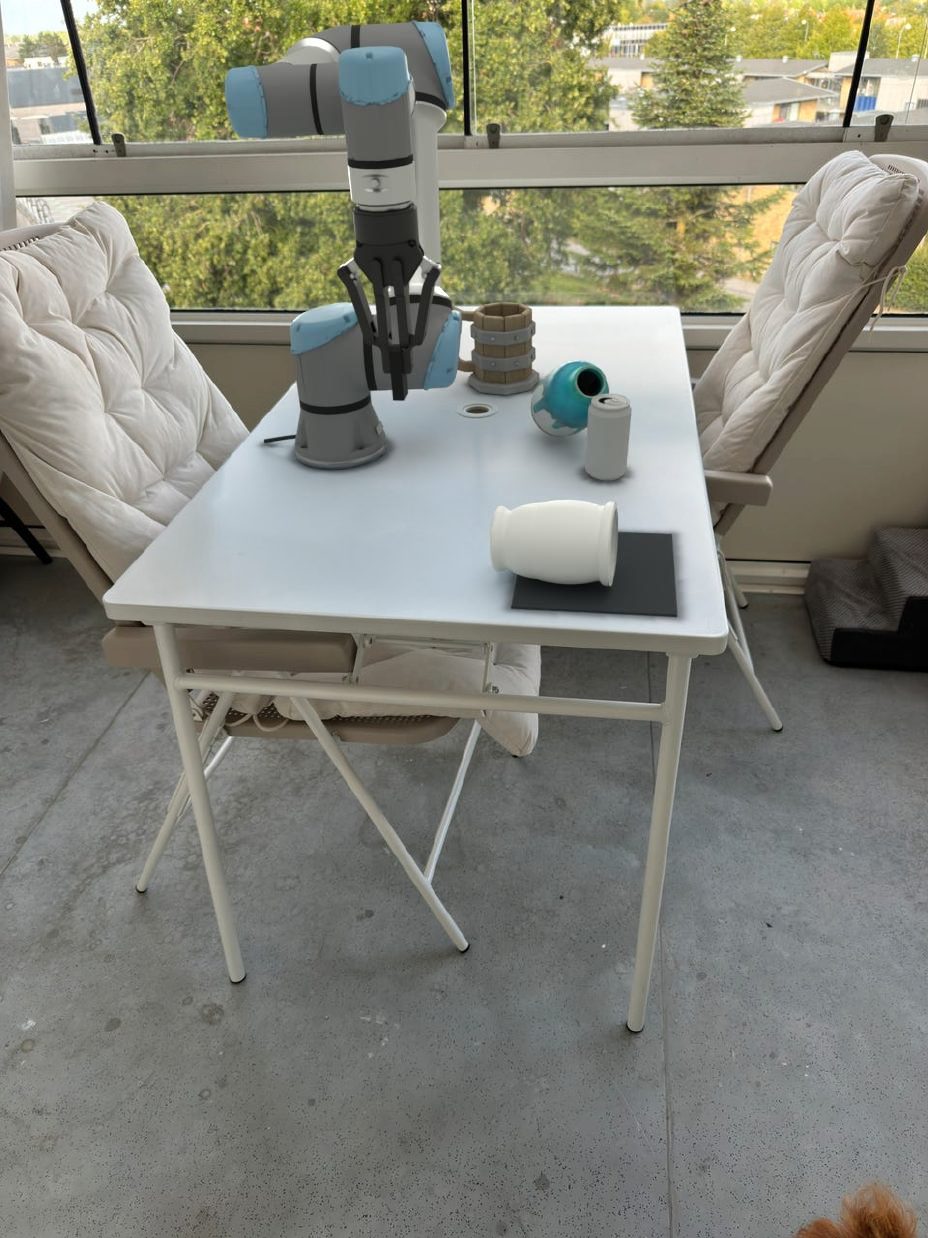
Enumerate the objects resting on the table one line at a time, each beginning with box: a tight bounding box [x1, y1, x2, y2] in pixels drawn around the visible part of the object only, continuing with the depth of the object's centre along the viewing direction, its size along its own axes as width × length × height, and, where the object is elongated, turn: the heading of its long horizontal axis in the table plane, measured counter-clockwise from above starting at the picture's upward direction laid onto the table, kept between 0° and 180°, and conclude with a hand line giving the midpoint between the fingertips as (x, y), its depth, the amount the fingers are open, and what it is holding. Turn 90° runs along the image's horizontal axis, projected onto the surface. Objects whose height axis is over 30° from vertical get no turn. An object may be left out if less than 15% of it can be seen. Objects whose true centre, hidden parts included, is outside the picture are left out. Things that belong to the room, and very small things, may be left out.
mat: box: [510, 531, 678, 617], centre depth 121 cm, size 20×20×1 cm
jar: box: [489, 499, 619, 586], centre depth 117 cm, size 11×10×15 cm
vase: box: [530, 359, 610, 438], centre depth 149 cm, size 11×11×19 cm
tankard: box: [452, 301, 540, 396], centre depth 177 cm, size 20×13×15 cm, turn 69°
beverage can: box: [584, 393, 633, 481], centre depth 141 cm, size 6×6×12 cm
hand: (400, 396), depth 122 cm, fingers closed
